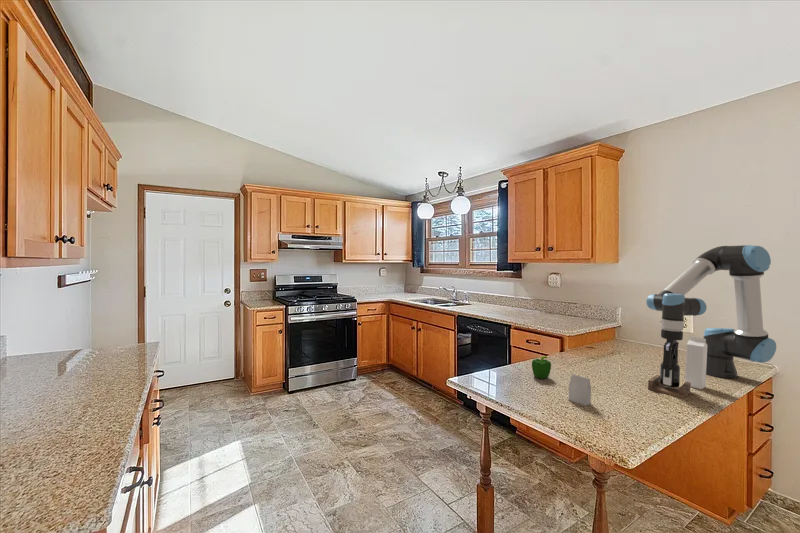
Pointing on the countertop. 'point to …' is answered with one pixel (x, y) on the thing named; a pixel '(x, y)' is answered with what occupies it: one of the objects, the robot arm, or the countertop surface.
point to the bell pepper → (541, 367)
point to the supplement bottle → (675, 374)
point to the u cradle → (674, 391)
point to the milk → (696, 362)
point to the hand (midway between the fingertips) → (669, 382)
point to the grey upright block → (580, 390)
